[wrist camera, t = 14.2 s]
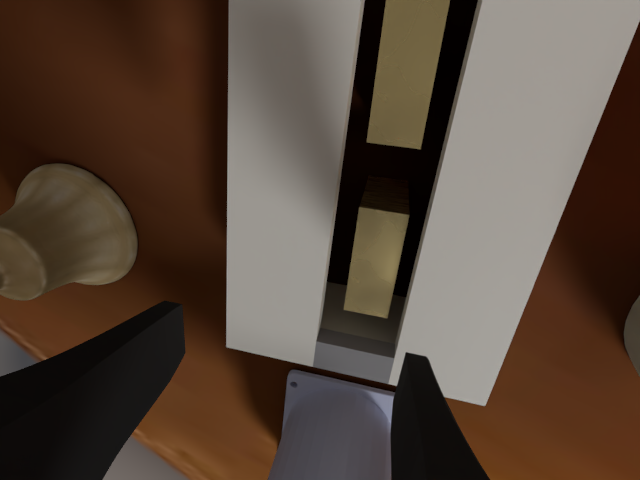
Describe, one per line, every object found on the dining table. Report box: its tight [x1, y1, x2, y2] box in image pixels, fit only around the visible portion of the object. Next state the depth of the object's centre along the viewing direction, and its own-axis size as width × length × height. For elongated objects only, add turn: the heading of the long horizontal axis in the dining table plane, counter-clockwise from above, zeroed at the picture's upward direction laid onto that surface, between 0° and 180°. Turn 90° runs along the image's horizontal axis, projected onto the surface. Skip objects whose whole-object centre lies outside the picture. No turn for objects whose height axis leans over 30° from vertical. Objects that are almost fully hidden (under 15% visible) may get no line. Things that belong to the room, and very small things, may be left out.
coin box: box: [226, 0, 640, 406], centre depth 17 cm, size 18×12×6 cm, turn 174°
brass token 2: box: [344, 175, 409, 318], centre depth 19 cm, size 5×2×5 cm, turn 174°
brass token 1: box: [367, 0, 450, 149], centre depth 16 cm, size 5×2×5 cm, turn 175°
